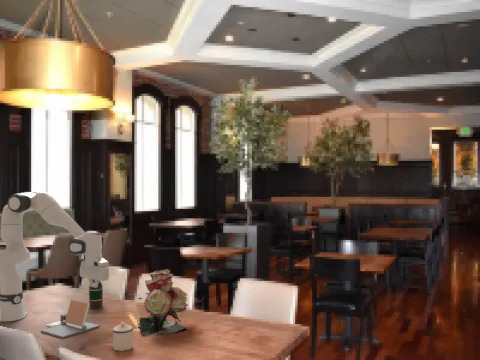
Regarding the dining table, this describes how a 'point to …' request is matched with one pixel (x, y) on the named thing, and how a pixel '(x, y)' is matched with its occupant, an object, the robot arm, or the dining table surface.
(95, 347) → the dining table surface
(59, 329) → the board
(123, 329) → the teacup with lid
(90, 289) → the beer bottle
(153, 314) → the rose bouquet
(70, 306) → the tile
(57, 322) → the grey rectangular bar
